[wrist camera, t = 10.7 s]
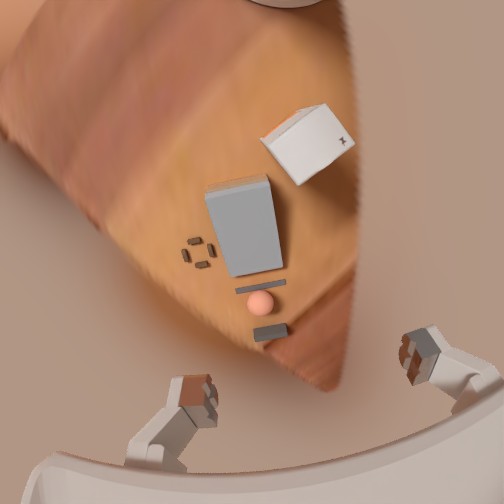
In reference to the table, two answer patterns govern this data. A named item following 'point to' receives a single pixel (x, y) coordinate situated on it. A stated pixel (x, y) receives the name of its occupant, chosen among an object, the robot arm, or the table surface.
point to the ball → (260, 303)
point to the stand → (199, 264)
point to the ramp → (245, 224)
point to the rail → (270, 332)
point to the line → (260, 286)
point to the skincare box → (307, 142)
